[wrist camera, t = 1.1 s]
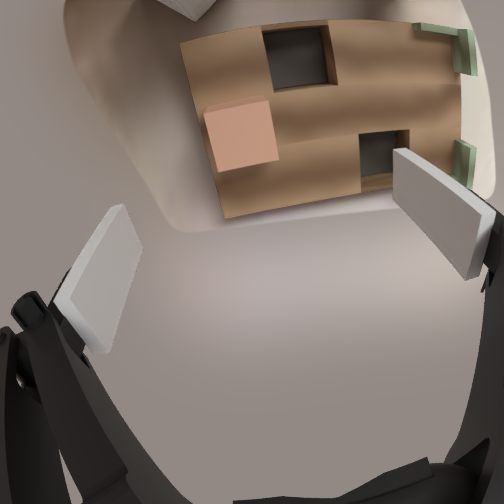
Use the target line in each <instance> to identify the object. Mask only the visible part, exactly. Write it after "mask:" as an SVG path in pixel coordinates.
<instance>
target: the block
mask: <svg viewBox="0 0 504 504" xmlns="http://www.w3.org/2000/svg"><path fill="white" fill-rule="evenodd" d="M203 115H204V119H205V123H206V127H207V130H208V134H209V138H210V142H211V146H212V150H213V154H214V158H215V162H216V165H217V169H218V172H222V171H227V170H231V169H236V168H241V167H245V166H250V165H255V164H260V163H265V162H271V161H276V160H279V156H278V150H277V144H276V138H275V133H274V127H273V122H272V117H271V111H270V106H269V101H268V100H267V99H266V98H265V97H264V96H263V95H262V96H256V97H251V98H245V99H240V100H236V101H231V102H226V103H222V104H217V105H213V106H209V107H207V108H206V110H205V112H204V114H203Z"/></svg>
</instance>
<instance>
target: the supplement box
mask: <svg viewBox="0 0 504 504" xmlns="http://www.w3.org/2000/svg"><path fill="white" fill-rule="evenodd" d="M157 1H159V2H161V3H163V4H165V5H166V6H168V7H170V8H172V9H174V10H175V11H177V12H179V13H181V14H182V15H184V16H186V17H187V18H189V19H191V20H192V21H195V22H197V21H198V20H199V18H200V17H201V16H202V15H203V14H204V13H205V12H206V11H207V10H208V9H209V8H210V7H211V6H212V5H213V4H214V3H215V2H216V1H217V0H157Z"/></svg>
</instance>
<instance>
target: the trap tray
mask: <svg viewBox="0 0 504 504" xmlns="http://www.w3.org/2000/svg"><path fill="white" fill-rule="evenodd" d="M308 28H319V29H308ZM296 29H305V30H296ZM286 30H294V31H286ZM319 30H320V32H319ZM277 31H284V32H277ZM270 32H276V33H270ZM263 33H268V34H263ZM320 35H321V37H320ZM321 40H322V42H321ZM179 45H180V49H181V53H182V57H183V61H184V65H185V69H186V73H187V77H188V81H189V85H190V89H191V93H192V97H193V101H194V105H195V108H196V112H197V116H198V120H199V124H200V128H201V132H202V135H203V139H204V143H205V147H206V150H207V154H208V158H209V162H210V166H211V169H212V173H213V177H214V180H215V184H216V188H217V191H218V195H219V199H220V203H221V206H222V210H223V213H224V217H225V219H227V218H232V217H237V216H242V215H247V214H251V213H256V212H261V211H266V210H271V209H276V208H281V207H286V206H292V205H297V204H302V203H307V202H313V201H318V200H324V199H329V198H335V197H340V196H346V195H352V194H358V193H364V192H370V191H376V190H382V189H388V188H393V149H399V148H407V149H409V150H410V151H412V152H414V153H415V154H417V155H418V156H420V157H422V158H423V159H425V160H426V161H428V162H429V163H431V164H432V165H434V166H435V167H437V168H438V169H440V170H441V171H443V172H444V173H446V174H447V175H449V176H450V177H451V178H453V179H454V180H456V181H457V182H458V183H460V184H461V185H463V186H464V187H466V188H468V189H472V186H473V178H474V170H475V160H476V149H477V148H476V147H474V146H472V145H470V144H468V143H467V142H465V141H463V140H461V79H460V73H463V74H467V75H471V76H478V72H477V58H476V47H475V38H474V31H472V30H468V29H456V28H450V27H445V26H439V25H433V24H427V23H406V22H395V21H382V20H313V21H299V22H288V23H279V24H270V25H263V26H256V27H250V28H244V29H238V30H233V31H228V32H223V33H218V34H214V35H209V36H205V37H201V38H197V39H193V40H189V41H185V42H182V43H179ZM322 46H323V48H322ZM323 52H324V54H323ZM324 57H325V60H324ZM325 63H326V66H325ZM326 70H327V72H326ZM327 76H328V79H327ZM325 82H328V83H325ZM315 83H323V84H315ZM307 84H313V85H307ZM299 85H305V86H299ZM291 86H297V87H291ZM284 87H289V88H284ZM278 88H283V89H278ZM273 89H276V90H273ZM262 95H263V96H264V97H265V98H266V99H267V100H268V101H269V106H270V111H271V117H272V122H273V127H274V133H275V138H276V144H277V150H278V156H279V160H276V161H271V162H265V163H260V164H255V165H250V166H245V167H241V168H236V169H231V170H227V171H222V172H218V169H217V165H216V162H215V158H214V154H213V150H212V146H211V142H210V138H209V134H208V130H207V127H206V123H205V119H204V115H203V114H204V112H205V110H206V108H207V107H209V106H213V105H217V104H222V103H226V102H231V101H236V100H240V99H245V98H251V97H256V96H262ZM366 175H367V176H366Z"/></svg>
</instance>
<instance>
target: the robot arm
mask: <svg viewBox="0 0 504 504" xmlns="http://www.w3.org/2000/svg"><path fill="white" fill-rule="evenodd" d="M393 200H394V201H395V202H396V203H397V204H398V205H399V206H400V208H401V209H402V210H403V211H404V212H405V213H406V214H407V215H408V216H409V217H410V218H411V219H412V220H413V221H414V222H415V223H416V224H417V225H418V226H419V227H420V229H421V230H422V231H423V232H424V233H425V234H426V235H427V236H428V237H429V239H430V240H431V241H432V242H433V243H434V244H435V245H436V246H437V247H438V249H439V250H440V251H441V252H442V253H443V254H444V256H445V257H446V258H447V259H448V260H449V262H450V263H451V264H452V265H453V267H454V268H455V269H456V270H457V271H458V273H459V274H460V275H461V276H462V278H463V279H464V280H465V281H466V280H469V279H472V278H475V277H478V276H479V275H480V272H481V268H482V265H483V263H484V264H485V265H486V266H487V267H488V268H489V269H488V272H487V275H486V278H485V281H484V284H483V287H482V289H481V292H482V293H483V291H484V289H485V302H484V315H483V323H482V331H481V339H480V346H479V352H478V358H477V363H476V369H475V374H474V379H473V383H472V388H471V392H470V396H469V400H468V404H467V408H466V411H465V415H464V418H463V422H462V425H461V428H460V431H459V434H458V437H457V439H456V440H455V442H454V444H453V445H452V447H451V449H450V450H449V452H448V454H447V456H446V458H445V461H444V463H430V464H429V461H428V458H427V457H425V458H423V459H420V460H418V461H415V462H413V463H410V464H408V465H405V466H402V467H399V468H397V469H394V470H391V471H388V472H385V473H383V474H381V475H380V476H378V477H376V478H374V479H372V480H371V481H369V482H367V483H365V484H363V485H362V486H360V487H358V488H356V489H354V490H352V491H350V492H348V493H346V494H344V495H342V496H340V497H337V498H300V497H285V496H280V497H272V498H263V499H252V500H237V501H233V504H504V216H503V215H502V214H501V213H500V212H498V211H497V210H496V209H495V208H494V207H492V206H491V205H490V204H489V203H487V202H485V200H484V199H482V198H481V197H479V196H478V195H477V194H476V193H475V192H473V191H472V190H470V189H468V188H466V187H464V186H463V185H461V184H460V183H458V182H457V181H456V180H454V179H453V178H451V177H450V176H449V175H447V174H446V173H444V172H443V171H441V170H440V169H438V168H437V167H435V166H434V165H432V164H431V163H429V162H428V161H426V160H425V159H423V158H422V157H420V156H418V155H417V154H415V153H414V152H412V151H410V150H409V149H407V148H399V149H393ZM142 253H143V247H142V245H141V242H140V240H139V238H138V236H137V233H136V231H135V229H134V226H133V224H132V222H131V219H130V217H129V214H128V212H127V210H126V207H125V205H124V203H122V204H119V205H116V206H112V207H111V208H110V209H109V210H108V211H107V213H106V215H105V216H104V217H103V219H102V220H101V222H100V223H99V225H98V226H97V228H96V229H95V231H94V232H93V234H92V236H91V237H90V239H89V240H88V242H87V243H86V245H85V247H84V248H83V250H82V252H81V253H80V255H79V256H78V258H77V260H76V261H75V263H74V265H73V266H72V267H71V268H70V269H69V270H68V271H67V272H66V274H65V276H64V278H63V279H62V282H61V283H60V285H59V287H58V289H57V290H56V292H55V294H54V296H53V297H52V300H51V301H50V303H49V305H48V307H47V306H46V304H45V303H44V301H43V300H42V299H41V297H40V296H39V294H38V293H37V292H36V291H31V292H28V293H26V294H24V295H23V296H22V297H21V298H19V299H18V300H17V302H16V303H15V304H14V306H13V308H12V310H11V315H12V316H13V318H14V319H15V320H16V321H17V323H18V324H19V325H20V327H21V328H22V329H23V330H24V331H23V332H20V333H18V334H16V335H15V333H14V332H13V331H12V330H11V329H10V327H8V326H5V327H3V328H1V329H0V504H71V500H70V497H69V493H68V489H67V485H66V482H65V477H64V473H63V469H62V464H61V459H60V455H59V450H60V452H61V455H62V457H63V459H64V461H65V464H66V466H67V468H68V470H69V472H70V474H71V476H72V478H73V480H74V482H75V484H76V486H77V488H78V490H79V492H80V494H81V496H82V499H83V503H81V504H192V503H191V502H190V501H189V500H187V499H186V498H185V497H183V496H182V495H181V494H180V493H179V492H178V491H177V489H176V488H175V487H174V486H173V485H172V484H171V483H170V481H169V480H168V479H167V478H166V476H165V475H163V473H162V472H161V470H160V469H159V468H158V467H157V465H156V464H155V463H154V461H153V460H152V459H151V458H150V456H149V455H148V454H147V452H146V451H145V449H144V448H143V447H142V446H141V444H140V443H139V441H138V440H137V438H136V437H135V436H134V434H133V433H132V431H131V430H130V429H129V427H128V425H127V424H126V422H125V421H124V419H123V418H122V416H121V415H120V413H119V412H118V410H117V408H116V407H115V405H114V404H113V402H112V400H111V399H110V397H109V396H108V394H107V392H106V390H105V389H104V387H103V385H102V384H101V382H100V380H99V378H98V376H97V375H96V373H95V371H94V369H93V367H92V365H91V363H90V362H89V360H88V358H87V357H86V356H85V354H84V353H83V350H84V347H85V344H86V345H87V347H88V348H89V349H90V350H91V351H92V353H93V354H103V353H110V351H111V347H112V344H113V340H114V337H115V333H116V330H117V327H118V323H119V320H120V317H121V314H122V311H123V307H124V304H125V301H126V298H127V295H128V292H129V289H130V286H131V283H132V280H133V278H134V275H135V272H136V269H137V266H138V264H139V261H140V258H141V255H142ZM16 378H17V379H18V380H19V381H20V382H21V383H22V384H21V385H22V386H20V385H19V384H18V382H17V379H16Z"/></svg>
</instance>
